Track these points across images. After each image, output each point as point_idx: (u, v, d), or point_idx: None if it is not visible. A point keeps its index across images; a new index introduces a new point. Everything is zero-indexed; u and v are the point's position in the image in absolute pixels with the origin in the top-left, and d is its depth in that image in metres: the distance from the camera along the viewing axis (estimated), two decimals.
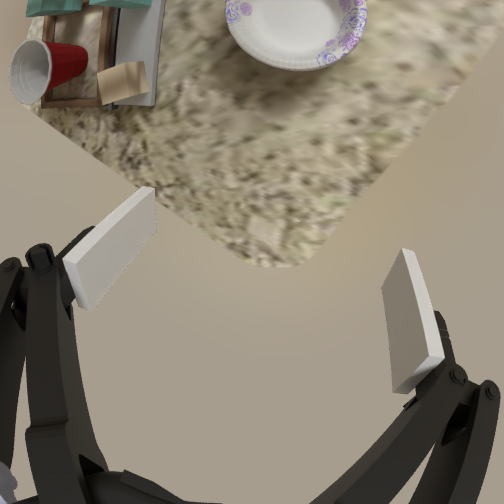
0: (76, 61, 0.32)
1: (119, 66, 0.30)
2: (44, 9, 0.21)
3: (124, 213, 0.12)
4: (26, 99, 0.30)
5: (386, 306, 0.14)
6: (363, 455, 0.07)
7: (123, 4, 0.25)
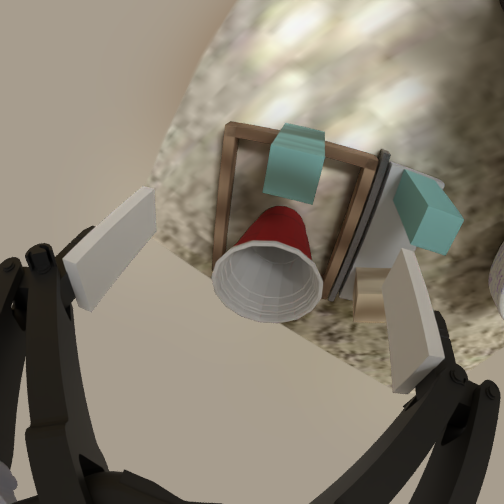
0: None
1: None
2: None
3: (124, 213, 0.12)
4: (247, 310, 0.32)
5: (386, 306, 0.14)
6: (363, 455, 0.07)
7: None
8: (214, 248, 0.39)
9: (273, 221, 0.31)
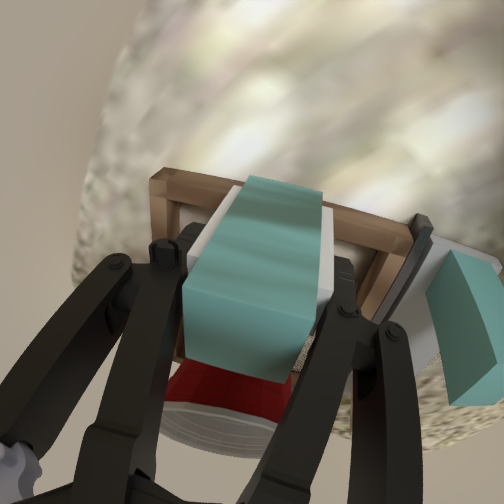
0: None
1: None
2: None
3: None
4: (202, 441, 0.20)
5: None
6: (282, 414, 0.09)
7: None
8: None
9: None
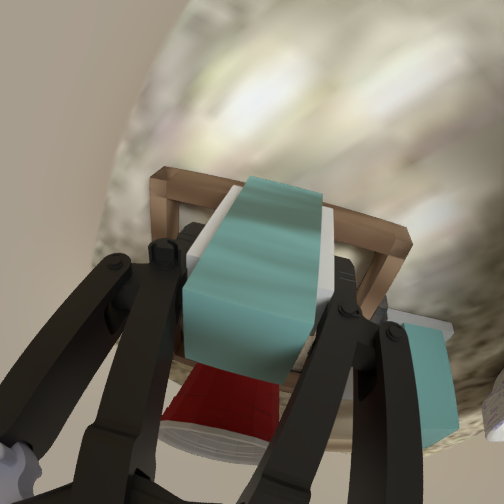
0: None
1: None
2: None
3: None
4: (199, 448, 0.22)
5: None
6: None
7: None
8: None
9: None
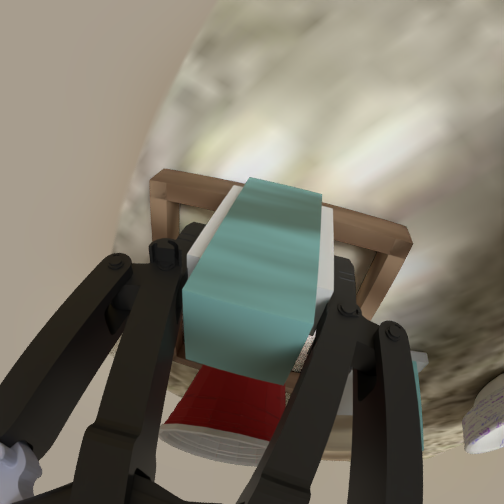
0: None
1: (349, 451, 0.27)
2: None
3: None
4: (201, 449, 0.22)
5: None
6: (282, 414, 0.09)
7: None
8: None
9: None
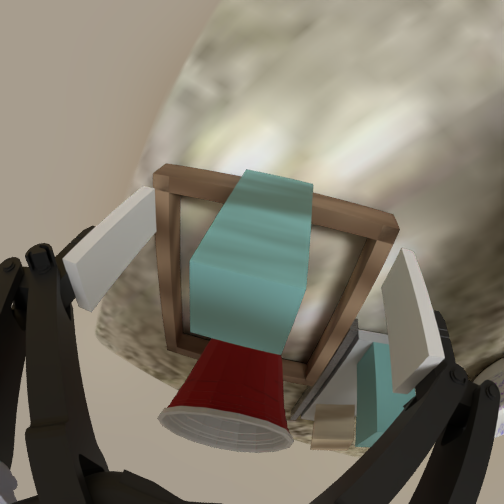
0: None
1: (346, 440, 0.29)
2: None
3: (124, 213, 0.12)
4: (202, 436, 0.23)
5: (386, 306, 0.14)
6: (363, 455, 0.07)
7: None
8: (165, 329, 0.28)
9: (239, 353, 0.22)
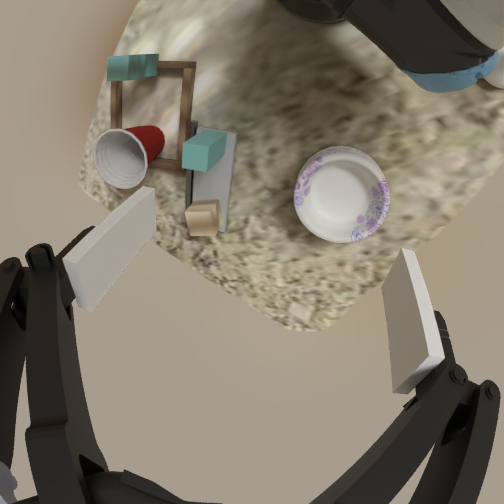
0: (158, 149, 0.49)
1: (206, 213, 0.51)
2: (130, 78, 0.35)
3: (124, 213, 0.12)
4: (112, 180, 0.46)
5: (386, 306, 0.14)
6: (363, 455, 0.07)
7: None
8: None
9: (134, 127, 0.45)
